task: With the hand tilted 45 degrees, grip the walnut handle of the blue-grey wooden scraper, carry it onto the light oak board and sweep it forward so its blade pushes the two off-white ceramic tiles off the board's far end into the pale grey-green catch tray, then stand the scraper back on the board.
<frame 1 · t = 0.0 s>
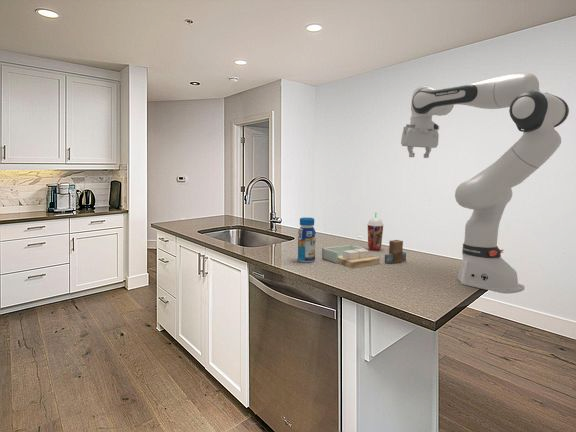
hand: (419, 157, 162), 48 cm above the worktop, tool pointing down, fingers open, 8 cm apart
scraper: (395, 262, 170), on the worktop
beverage bottle: (306, 261, 171), on the worktop
smoothie: (374, 250, 197), on the worktop
tile b: (350, 257, 167), point 2 cm above the worktop, touching board
tile a: (360, 256, 170), point 2 cm above the worktop, touching board
board: (358, 263, 167), on the worktop
catch tray: (344, 258, 176), on the worktop
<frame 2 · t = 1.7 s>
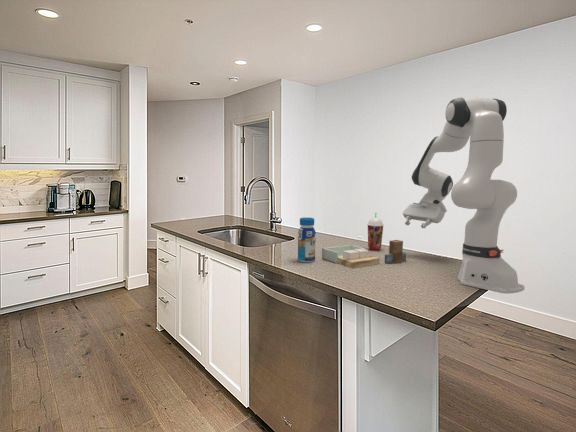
hand: (414, 225, 175), 16 cm above the worktop, tool tilted 45°, fingers open, 8 cm apart
nothing on the worktop moved.
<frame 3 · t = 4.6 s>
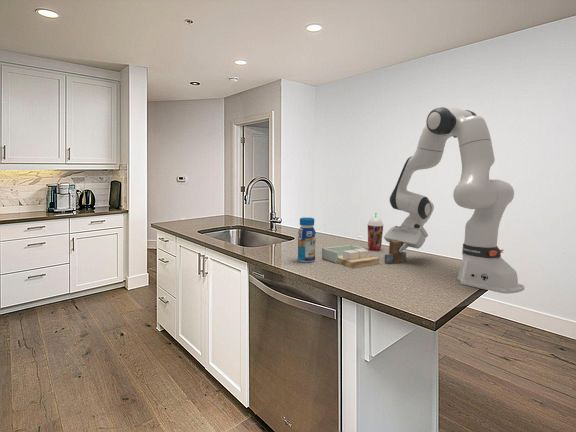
hand: (394, 250, 169), 5 cm above the worktop, tool tilted 45°, fingers closed on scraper, 3 cm apart
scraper: (395, 262, 170), on the worktop, touching gripper
everything else where it was.
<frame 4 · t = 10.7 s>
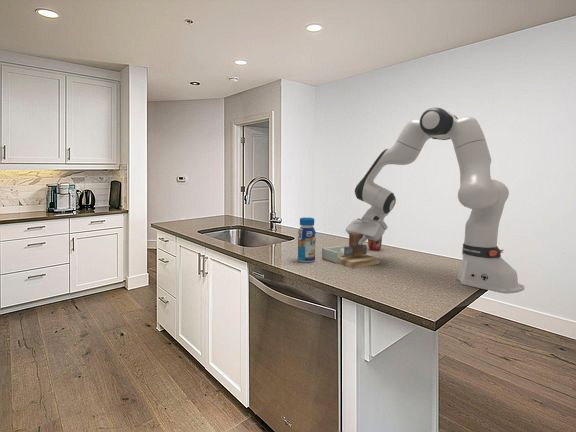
hand: (354, 243, 167), 9 cm above the worktop, tool tilted 45°, fingers closed on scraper, 4 cm apart
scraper: (355, 254, 168), point 4 cm above the worktop, touching gripper, tile a
tile b: (345, 256, 170), point 2 cm above the worktop, tilted 50°, touching catch tray
tile a: (355, 255, 173), point 2 cm above the worktop, tilted 44°, touching catch tray, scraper
everything else where it was.
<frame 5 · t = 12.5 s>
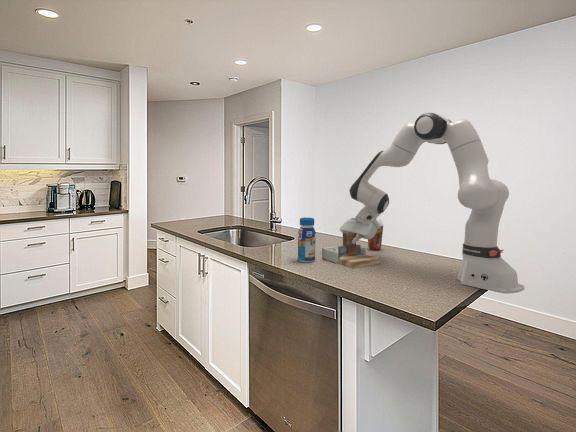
hand: (348, 242, 171), 9 cm above the worktop, tool tilted 45°, fingers closed on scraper, 4 cm apart
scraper: (349, 254, 171), point 3 cm above the worktop, tilted 7°, touching gripper, tile a, tile b
tile b: (339, 255, 173), point 2 cm above the worktop, tilted 41°, touching catch tray, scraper
tile a: (351, 256, 177), point 1 cm above the worktop, tilted 7°, touching catch tray, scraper
everything else where it was.
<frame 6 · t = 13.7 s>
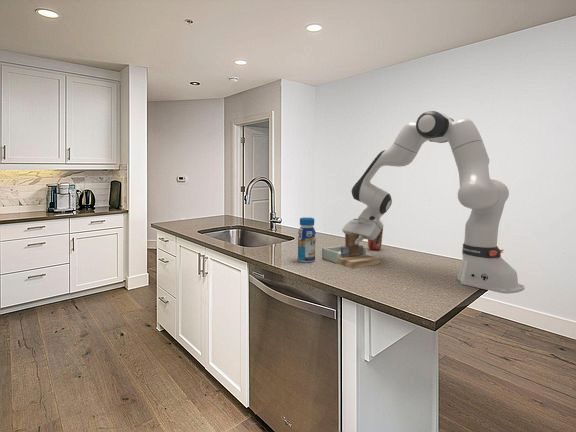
hand: (351, 242, 170), 9 cm above the worktop, tool tilted 45°, fingers closed on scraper, 4 cm apart
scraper: (352, 255, 170), point 3 cm above the worktop, tilted 6°, touching gripper
tile b: (339, 259, 173), resting on catch tray
tile a: (351, 257, 177), resting on catch tray
everything else where it was.
when the fingers open (8 cm above the worktop, at t = 15.1 s): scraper stays where it is, resting on board.
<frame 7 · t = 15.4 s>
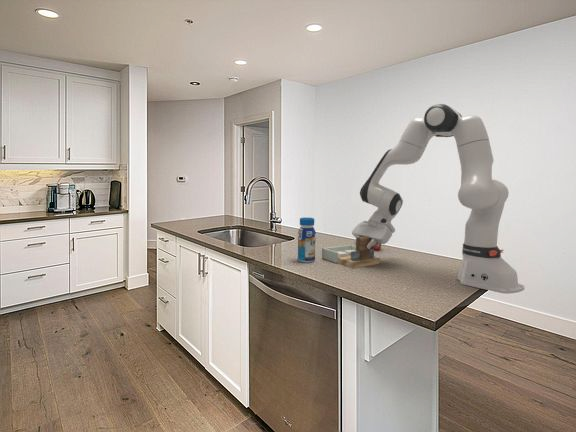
hand: (361, 246, 164), 8 cm above the worktop, tool tilted 45°, fingers open, 6 cm apart
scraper: (362, 259, 164), point 2 cm above the worktop, touching board
everything else where it was.
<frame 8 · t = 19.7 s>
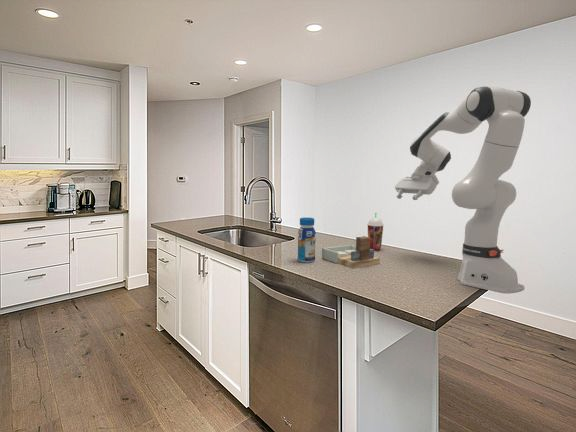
hand: (406, 198, 171), 29 cm above the worktop, tool tilted 45°, fingers open, 8 cm apart
nothing on the worktop moved.
at the end: tile a inside the target area (4.2 cm from its centre), point 0.5 cm above the worktop; tile b inside the target area (4.3 cm from its centre), point 0.5 cm above the worktop; the gripper is holding nothing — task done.
